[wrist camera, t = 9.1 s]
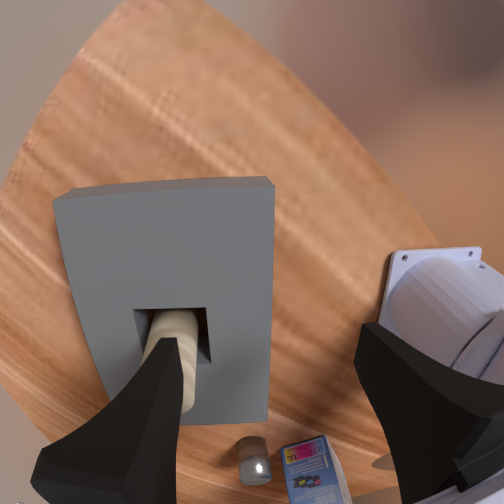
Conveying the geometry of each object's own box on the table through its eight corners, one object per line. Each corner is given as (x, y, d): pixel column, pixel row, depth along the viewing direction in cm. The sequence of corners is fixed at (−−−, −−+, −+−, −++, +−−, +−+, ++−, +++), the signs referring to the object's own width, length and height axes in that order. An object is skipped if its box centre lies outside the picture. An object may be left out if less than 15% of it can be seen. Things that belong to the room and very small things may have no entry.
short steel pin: (266, 434, 28) (272, 471, 24) (265, 449, 29) (271, 483, 25) (236, 437, 28) (239, 473, 24) (237, 451, 29) (240, 486, 25)
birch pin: (198, 292, 21) (191, 377, 14) (200, 329, 22) (196, 416, 15) (154, 292, 21) (129, 374, 13) (159, 328, 22) (140, 413, 15)
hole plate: (266, 176, 19) (274, 186, 16) (262, 394, 26) (267, 421, 23) (73, 188, 18) (52, 200, 15) (125, 396, 24) (119, 422, 22)
